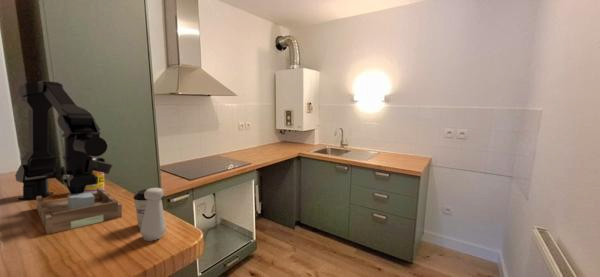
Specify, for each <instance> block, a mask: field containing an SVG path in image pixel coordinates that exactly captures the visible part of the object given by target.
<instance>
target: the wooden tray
mask: <svg viewBox="0 0 600 277" xmlns="http://www.w3.org/2000/svg"><path fill="white" fill-rule="evenodd" d="M92 195H93V196H94V205H93V206H88V207H82V208H77V209H72V210H68V197H64V198H63V197H62V198H57V199H51V200H45V201H44V198H42V197H41V196H36V199H35V200H36V211H37V213H38V216H39V218H40V220H41V223H42V225H43V227H44V229H45V232H46V235H49V234H55V233H58V232H62V231H63V232H64V231H67V230H71V229H72V230H73V229H77V228H79V227H80V228H81V227H85V226H89V225H93V224H98V223H102V222H106V221H111V220H115V219H119V218H123V217H122V216H123V214H122V213H123V211H122V210H123V208H122V207H123V206H122V205H123V204H122V203H121V202H119V201H118V200H117V199H116V198H115V197H113V196H112V195H110V194H109V193H108V192H107V191H106V190H105V189H104V190H103V189H102V188H101V187H98V188H97V193H94V194H92Z"/></svg>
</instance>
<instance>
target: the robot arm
mask: <svg viewBox="0 0 600 277" xmlns="http://www.w3.org/2000/svg"><path fill="white" fill-rule="evenodd" d="M18 95H19V97H20V101H21V102H22V104H23V105H24V106H25V107H26V108H27V111H28V117H27V118H28V119H27V120H28V127H27V128H28V152H26V154H25V155H24V156H23V157H22V158H21V163H20V165H19V167H18V169H17V171H16V173H15V181H16V182H18V183H21V184H22V185H23V186H22V195H21V196H18V197H17V198H18V200H36V196H41V197H42V199H44V198H45V197H49V196H50V195H51V196H52V195H53V194H54V191H49V179H55V178H56V174H57V169H58V165H57V163H56V158H55V156H53V155H52V154H51V153H50V152H49V111H50V110H51V108H52V107H53V108H54V110H55V111H56V112H57V114H58V117H57V124H58V126H59V128H60V129H61V130H62V132H63V134H62V135H61V137H62V138H63V139H64V140H63V141H64V144H63V145H64V146H63V147H64V155H63V156H62V159H63V160H64V166H61V167H60V168H59V169H58V175H59V177H64V176H65V177H66V178H64V179H62V181H63V183H64V185H65V187H66V188H67V190H68V192H69V193H70V195H71V194H77V193H83V192H84V189H85V187H86V186H87V185H93V184H97V183H98V177H97V176H95V175H94V174H92V173H93V171H98V172H104V174H107V175H109V174H110V173H111V169H112V168H113V164H112V163H110V162H109V161H106V160H105V158H104V157H100V156H102V155H104V154H105V153H106V151H107V149H108V143H107V141H106V140H105V139H104V138H102V137H101V136H100V135H101V132H100V130H101V128H100V127H99V125H98V124H97V122H96V119H95V118H94V117H93V114H91V113H90V112H89V111H88V110H87V109H85V108H83V107H80V106H78V105H77V104H76V103H75V102H74V100H73V99H72V98H71V97H70V95H69V94H68V93H67V92H66V91H65V89H64V85H63V84H62V83H60V82H58V81H49V80H38V81H36V82H35V81H34V82H24V83H23V84H21V85H19V86H18ZM93 157H95V158H93ZM96 157H97V158H96ZM94 159H95V160H94Z"/></svg>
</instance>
